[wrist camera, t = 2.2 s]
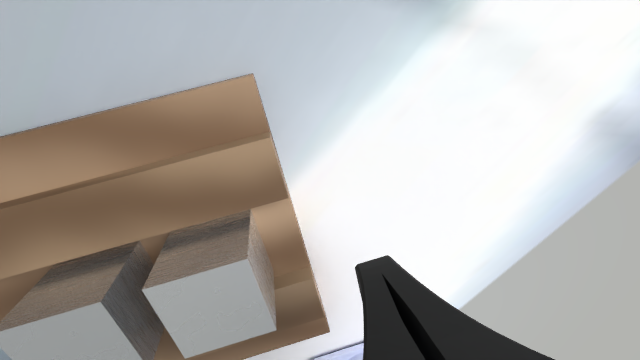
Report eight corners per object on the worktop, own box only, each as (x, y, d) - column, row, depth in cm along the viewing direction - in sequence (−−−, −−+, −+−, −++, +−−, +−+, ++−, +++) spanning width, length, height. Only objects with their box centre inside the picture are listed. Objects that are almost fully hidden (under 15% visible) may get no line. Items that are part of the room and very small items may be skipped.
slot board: (327, 319, 20) (333, 345, 19) (84, 395, 19) (65, 431, 18) (253, 73, 14) (251, 76, 12) (-126, 168, 13) (-191, 188, 11)
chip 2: (273, 269, 17) (276, 330, 13) (201, 291, 17) (185, 358, 13) (250, 208, 15) (247, 258, 12) (170, 231, 15) (141, 289, 11)
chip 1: (174, 299, 17) (149, 369, 13) (99, 321, 16) (52, 400, 13) (139, 240, 15) (100, 302, 11) (55, 263, 15) (-13, 335, 11)
